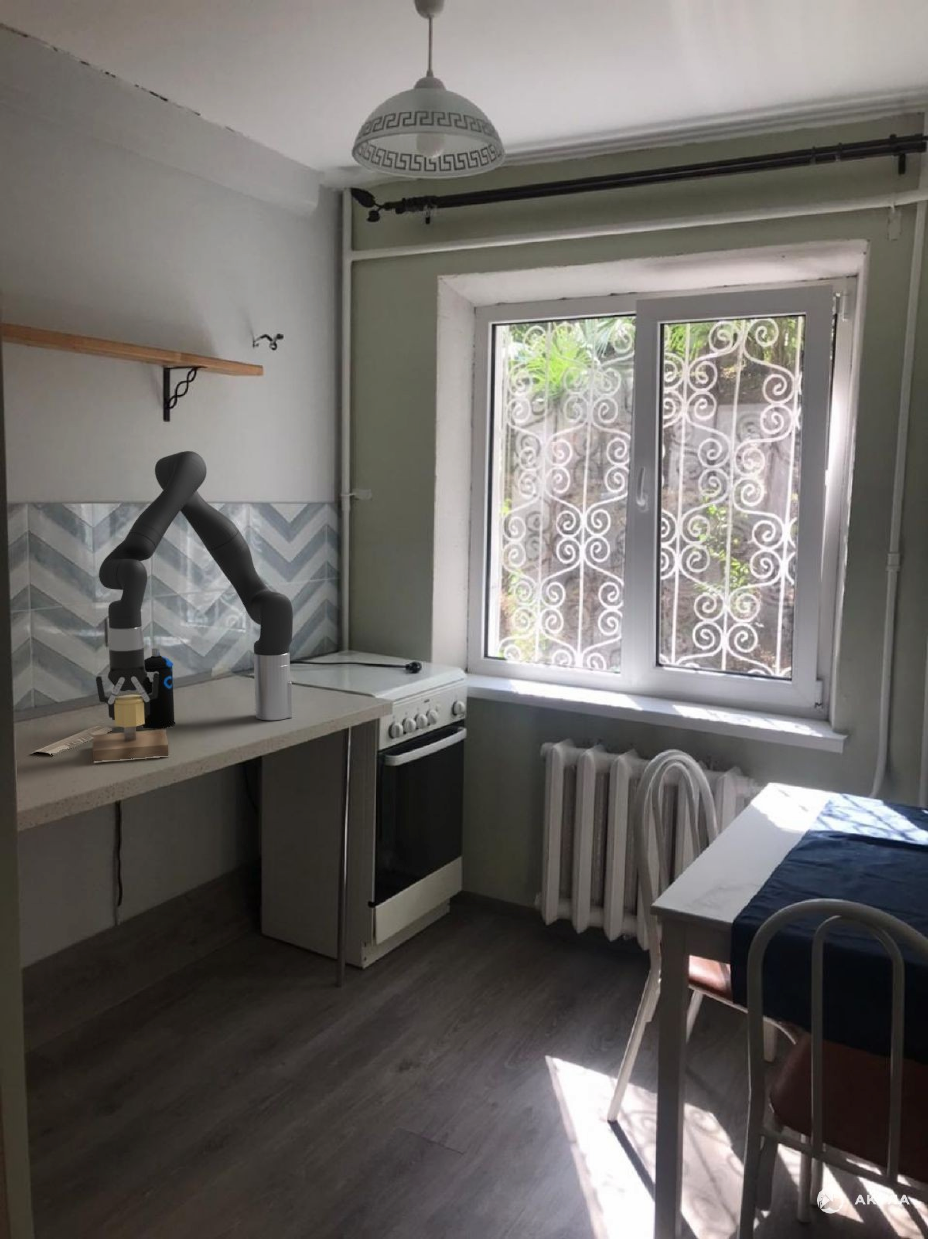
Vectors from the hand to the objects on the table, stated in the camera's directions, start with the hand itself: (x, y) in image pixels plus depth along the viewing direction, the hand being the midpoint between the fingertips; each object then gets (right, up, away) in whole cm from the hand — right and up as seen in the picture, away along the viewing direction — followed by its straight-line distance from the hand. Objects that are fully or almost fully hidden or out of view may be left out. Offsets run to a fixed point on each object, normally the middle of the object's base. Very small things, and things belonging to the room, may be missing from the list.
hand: (129, 717), depth 228 cm
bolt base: (0, -8, +1) cm, 8 cm away
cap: (0, -1, 0) cm, 1 cm away
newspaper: (-16, -8, +9) cm, 20 cm away
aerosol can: (-1, -5, +26) cm, 26 cm away
